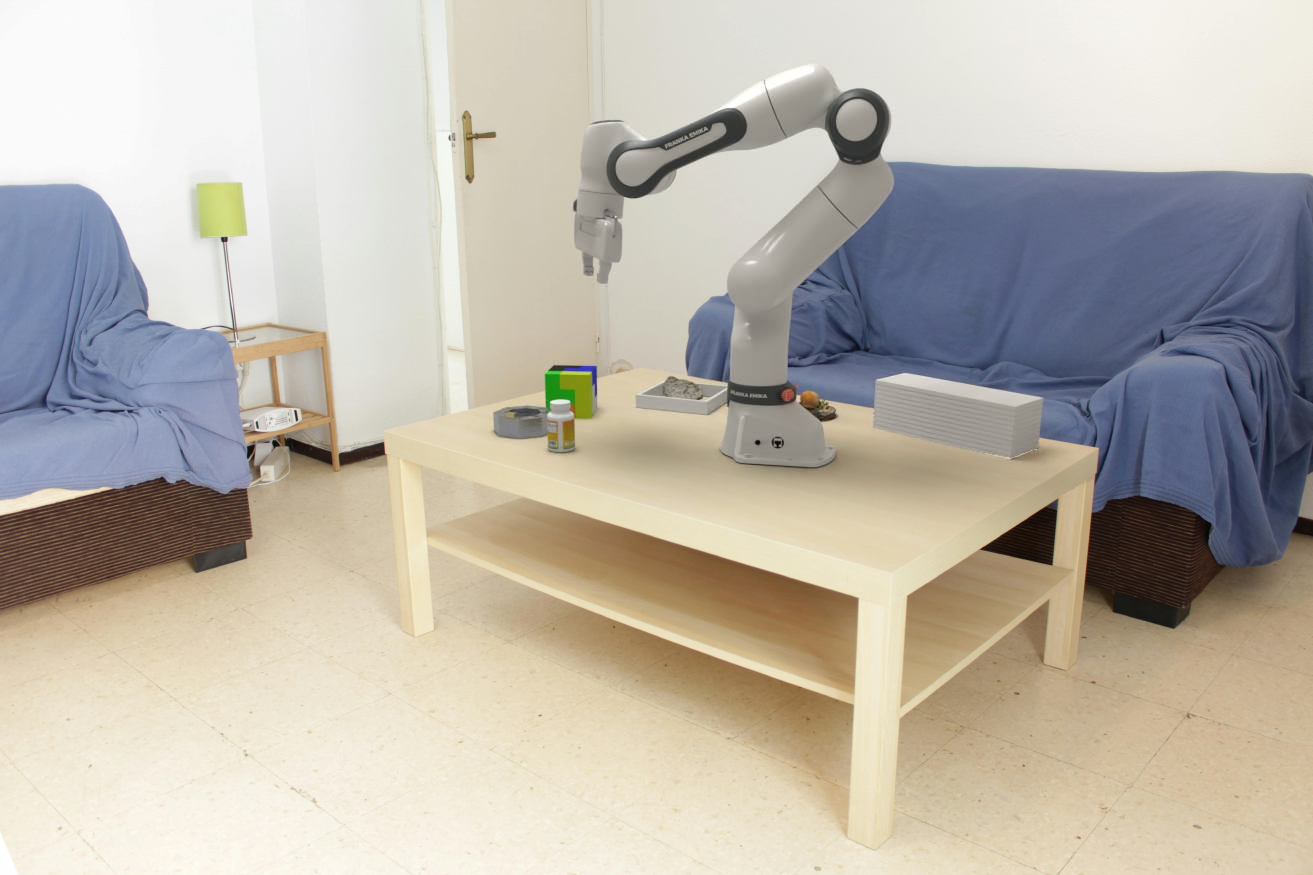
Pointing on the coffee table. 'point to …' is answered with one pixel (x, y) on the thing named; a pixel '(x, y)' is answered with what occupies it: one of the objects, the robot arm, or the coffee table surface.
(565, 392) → the puzzle toy
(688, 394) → the rock sample
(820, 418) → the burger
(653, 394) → the grey sample tray
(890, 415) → the stack of papers
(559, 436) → the supplement bottle
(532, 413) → the ring
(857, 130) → the robot arm
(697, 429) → the coffee table surface
